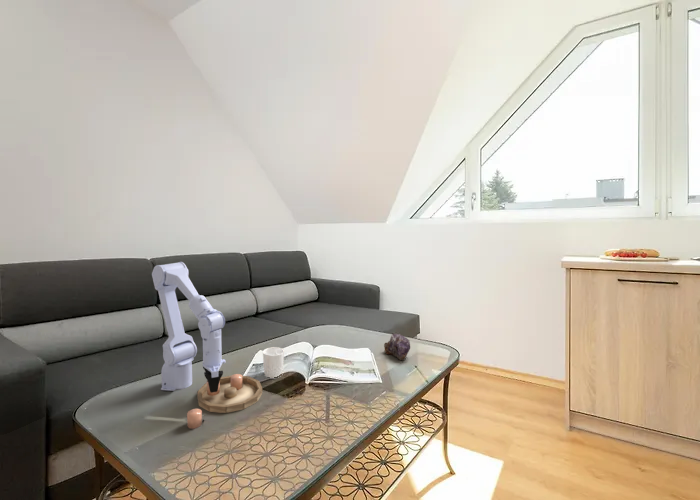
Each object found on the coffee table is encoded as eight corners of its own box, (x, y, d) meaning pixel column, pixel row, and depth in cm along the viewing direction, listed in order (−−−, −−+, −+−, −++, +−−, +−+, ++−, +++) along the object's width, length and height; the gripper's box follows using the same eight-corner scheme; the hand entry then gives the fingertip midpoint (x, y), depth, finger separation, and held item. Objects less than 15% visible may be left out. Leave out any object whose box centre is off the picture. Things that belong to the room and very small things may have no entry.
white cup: (279, 382, 139) (279, 356, 138) (259, 379, 141) (259, 354, 139) (286, 372, 147) (287, 348, 145) (267, 370, 148) (268, 346, 147)
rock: (396, 364, 160) (414, 359, 165) (398, 347, 158) (417, 342, 163) (380, 350, 170) (398, 346, 175) (382, 333, 167) (401, 329, 172)
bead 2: (212, 396, 122) (211, 385, 122) (204, 393, 124) (204, 381, 124) (222, 391, 126) (222, 380, 125) (214, 388, 128) (214, 377, 127)
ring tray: (186, 412, 118) (185, 403, 118) (214, 380, 139) (214, 373, 138) (249, 417, 117) (249, 408, 117) (268, 384, 137) (268, 377, 137)
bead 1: (184, 428, 110) (184, 415, 110) (191, 420, 114) (191, 408, 114) (198, 429, 110) (197, 416, 110) (204, 421, 114) (204, 409, 114)
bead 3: (228, 389, 131) (228, 378, 131) (233, 384, 135) (233, 373, 135) (240, 390, 131) (239, 379, 130) (244, 384, 135) (244, 374, 134)
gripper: (228, 356, 118) (228, 396, 120) (222, 339, 131) (223, 376, 133) (204, 359, 115) (205, 401, 117) (200, 342, 128) (201, 380, 130)
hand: (213, 388), depth 125 cm, fingers closed on bead 2, 4 cm apart
